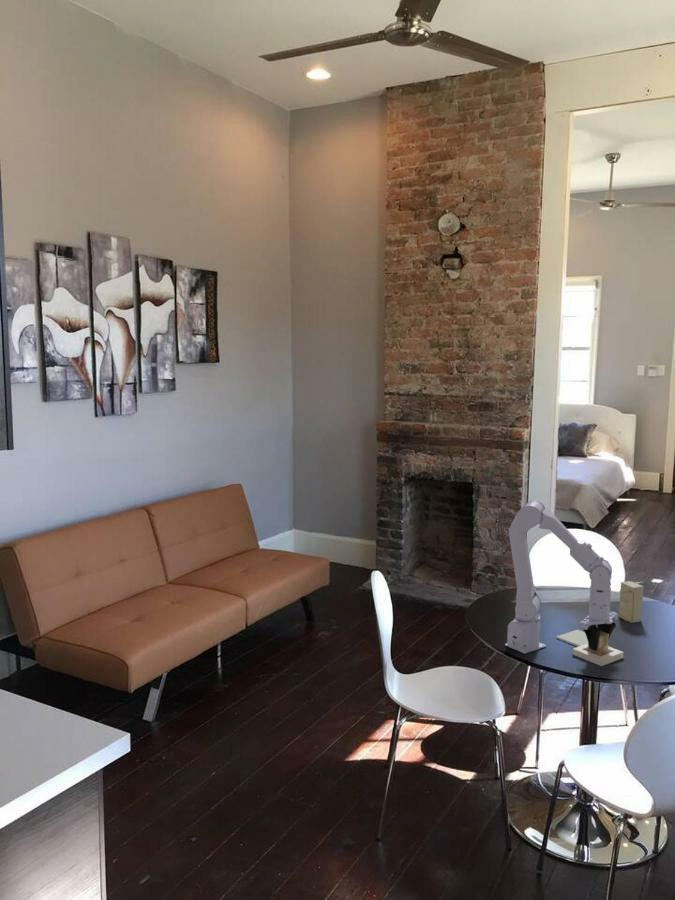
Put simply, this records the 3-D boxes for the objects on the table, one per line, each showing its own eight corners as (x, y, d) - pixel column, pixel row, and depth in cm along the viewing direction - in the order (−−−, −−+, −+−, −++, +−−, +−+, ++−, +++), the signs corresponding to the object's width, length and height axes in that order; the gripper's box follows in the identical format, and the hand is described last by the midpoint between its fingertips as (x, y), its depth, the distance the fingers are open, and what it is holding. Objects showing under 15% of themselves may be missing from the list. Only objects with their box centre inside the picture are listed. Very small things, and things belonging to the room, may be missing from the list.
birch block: (599, 660, 213) (600, 636, 212) (587, 655, 216) (588, 632, 215) (607, 656, 215) (608, 633, 214) (596, 652, 218) (597, 629, 217)
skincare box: (618, 617, 247) (619, 581, 245) (629, 615, 248) (630, 580, 247) (631, 623, 241) (633, 587, 240) (642, 621, 243) (644, 586, 241)
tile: (582, 648, 221) (583, 646, 221) (556, 638, 229) (556, 636, 229) (604, 641, 226) (604, 639, 226) (577, 631, 235) (577, 629, 235)
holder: (601, 666, 209) (601, 660, 208) (572, 654, 217) (572, 648, 217) (623, 657, 214) (623, 652, 214) (594, 646, 222) (594, 641, 222)
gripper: (595, 611, 206) (593, 658, 208) (627, 601, 214) (625, 646, 216) (574, 604, 212) (573, 649, 214) (606, 595, 220) (604, 638, 222)
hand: (598, 647), depth 215 cm, fingers closed on birch block, 4 cm apart
